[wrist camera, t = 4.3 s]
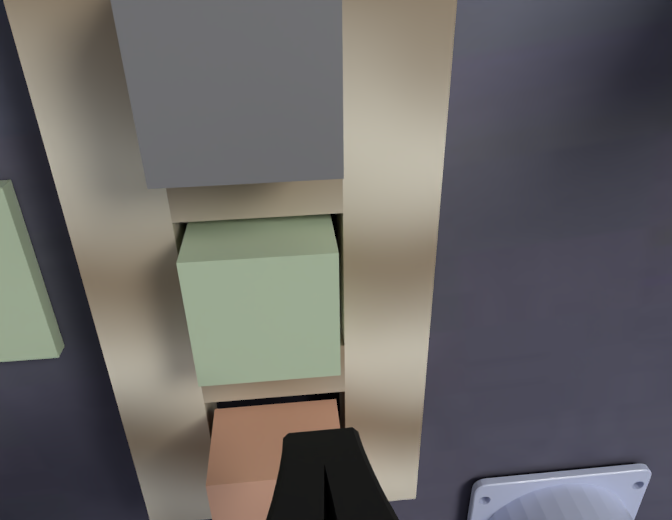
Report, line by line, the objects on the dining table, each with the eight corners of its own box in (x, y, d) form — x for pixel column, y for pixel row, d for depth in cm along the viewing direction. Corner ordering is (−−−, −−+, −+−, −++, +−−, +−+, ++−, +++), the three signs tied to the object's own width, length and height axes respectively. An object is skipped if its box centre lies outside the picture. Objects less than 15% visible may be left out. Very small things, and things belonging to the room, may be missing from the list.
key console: (404, 457, 24) (415, 498, 22) (160, 479, 23) (151, 524, 21) (442, -120, 14) (467, -129, 12) (8, -116, 13) (-32, -123, 11)
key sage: (330, 314, 19) (340, 375, 16) (208, 323, 18) (198, 386, 16) (328, 203, 17) (338, 253, 14) (191, 211, 16) (176, 263, 14)
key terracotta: (337, 479, 21) (347, 556, 18) (228, 490, 20) (222, 570, 18) (336, 398, 19) (346, 472, 16) (214, 408, 18) (205, 486, 16)
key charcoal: (330, 135, 14) (344, 178, 12) (170, 142, 14) (147, 189, 11) (326, -44, 12) (341, -39, 10) (139, -41, 12) (103, -34, 9)
